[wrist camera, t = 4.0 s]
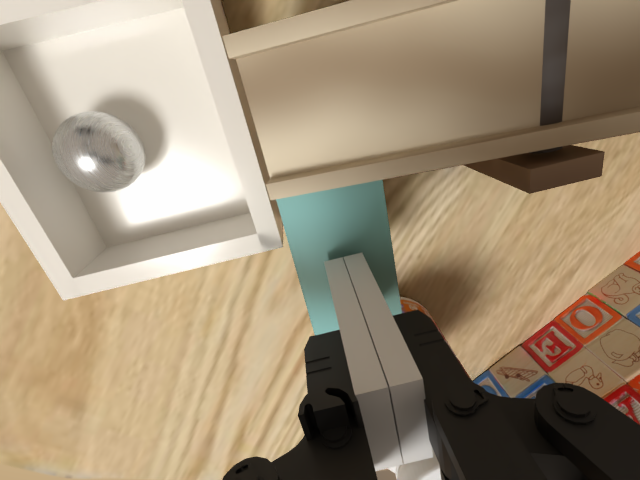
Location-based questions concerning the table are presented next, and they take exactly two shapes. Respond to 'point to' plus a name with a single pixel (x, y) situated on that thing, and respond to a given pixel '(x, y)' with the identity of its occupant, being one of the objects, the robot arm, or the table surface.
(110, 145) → the ball
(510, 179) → the fulcrum
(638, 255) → the stack of blocks
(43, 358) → the table surface
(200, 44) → the white square tray
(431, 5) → the lever
